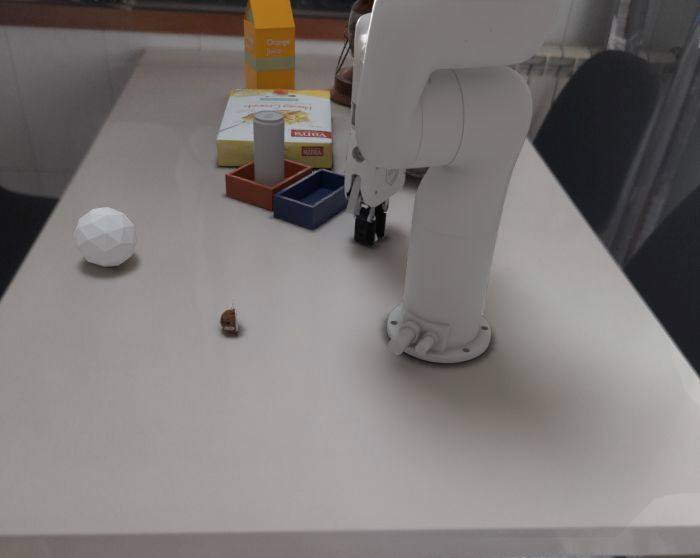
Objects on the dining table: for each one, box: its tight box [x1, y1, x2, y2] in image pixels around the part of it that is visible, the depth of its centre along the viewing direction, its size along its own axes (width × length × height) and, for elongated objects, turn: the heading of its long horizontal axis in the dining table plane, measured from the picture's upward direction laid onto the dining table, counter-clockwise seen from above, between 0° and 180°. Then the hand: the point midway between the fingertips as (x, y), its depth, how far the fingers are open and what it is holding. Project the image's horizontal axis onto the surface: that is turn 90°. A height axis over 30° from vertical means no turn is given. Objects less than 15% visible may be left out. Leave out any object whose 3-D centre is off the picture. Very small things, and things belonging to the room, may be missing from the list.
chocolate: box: [219, 299, 239, 334], centre depth 85 cm, size 3×2×4 cm
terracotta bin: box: [224, 159, 313, 212], centre depth 117 cm, size 11×9×4 cm
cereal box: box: [215, 88, 333, 169], centre depth 135 cm, size 20×6×28 cm
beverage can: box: [253, 110, 285, 187], centre depth 114 cm, size 5×5×12 cm
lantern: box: [328, 0, 375, 108], centre depth 152 cm, size 19×19×30 cm
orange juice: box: [243, 0, 296, 90], centre depth 153 cm, size 8×9×20 cm
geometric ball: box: [73, 206, 138, 268], centre depth 95 cm, size 8×8×8 cm
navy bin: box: [272, 168, 349, 230], centre depth 113 cm, size 13×7×4 cm, turn 149°
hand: (369, 238), depth 106 cm, fingers closed
